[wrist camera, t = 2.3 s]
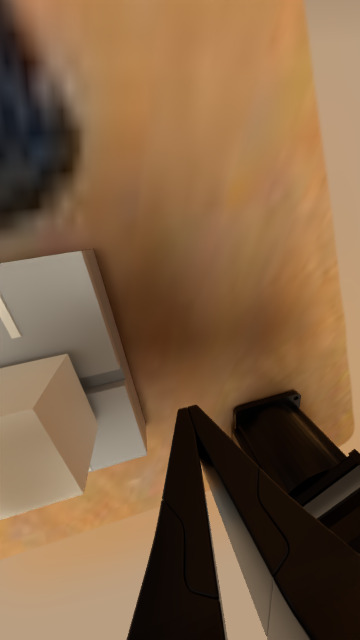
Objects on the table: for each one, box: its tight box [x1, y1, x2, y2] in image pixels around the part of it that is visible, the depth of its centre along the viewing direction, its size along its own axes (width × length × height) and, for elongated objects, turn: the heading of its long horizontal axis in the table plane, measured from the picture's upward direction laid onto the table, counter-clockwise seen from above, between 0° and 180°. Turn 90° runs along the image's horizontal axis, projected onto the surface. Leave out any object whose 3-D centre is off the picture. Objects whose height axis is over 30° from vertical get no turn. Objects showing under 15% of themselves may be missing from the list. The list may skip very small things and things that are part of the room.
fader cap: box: [0, 354, 98, 520], centre depth 9 cm, size 4×5×4 cm
